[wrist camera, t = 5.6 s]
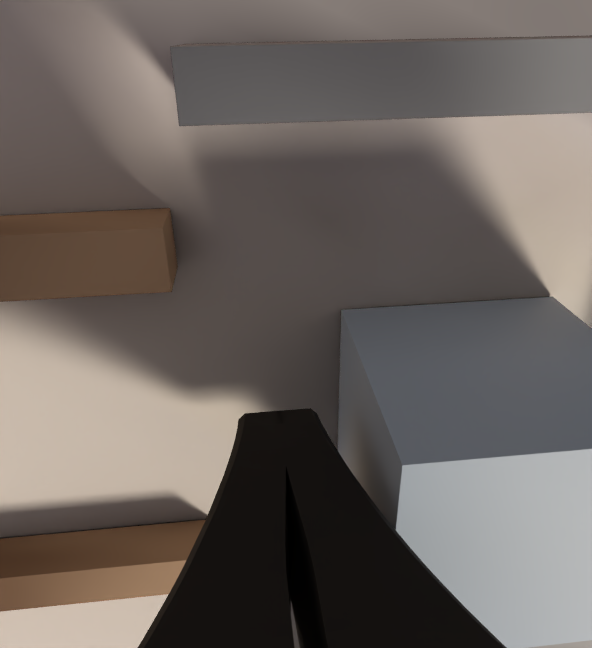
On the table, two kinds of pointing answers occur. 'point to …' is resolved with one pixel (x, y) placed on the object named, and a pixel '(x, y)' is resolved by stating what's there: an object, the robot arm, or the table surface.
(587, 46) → the grey flat u-shaped frame
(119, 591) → the slot holder
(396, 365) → the block
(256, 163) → the table surface
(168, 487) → the table surface
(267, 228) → the table surface
